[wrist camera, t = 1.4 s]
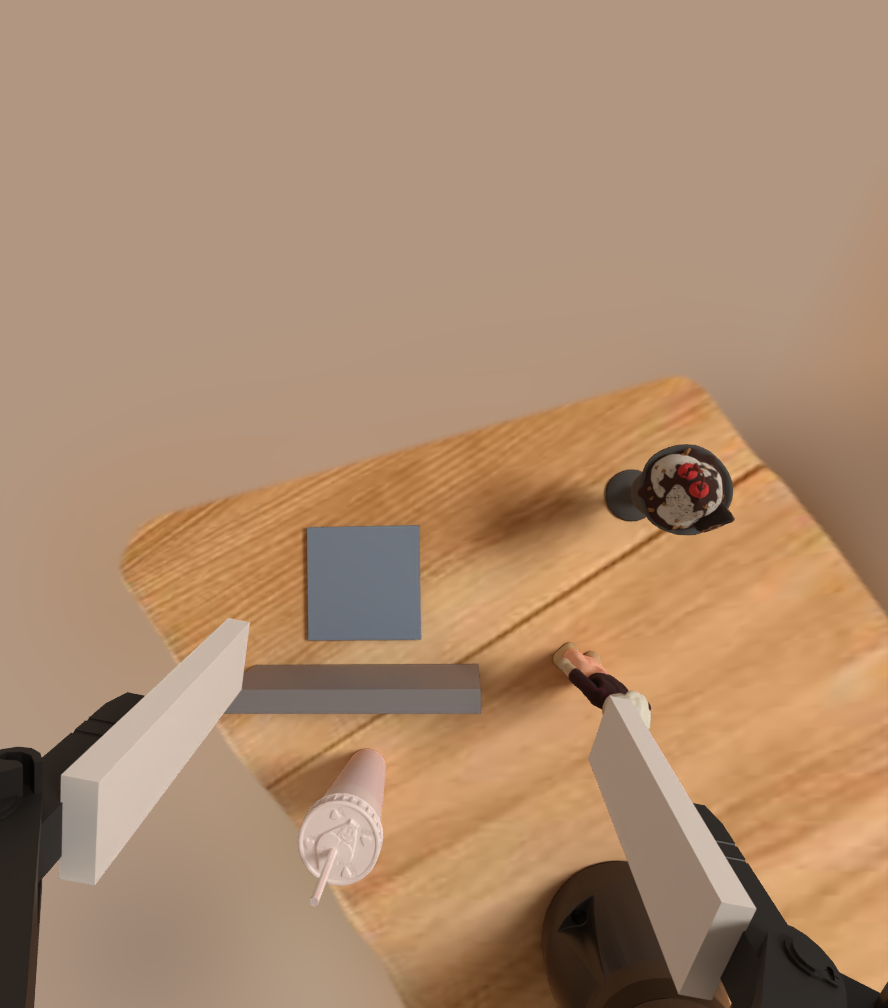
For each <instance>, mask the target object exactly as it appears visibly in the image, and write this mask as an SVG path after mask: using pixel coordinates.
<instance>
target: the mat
mask: <svg viewBox="0 0 888 1008" xmlns="http://www.w3.org/2000/svg"><path fill="white" fill-rule="evenodd" d="M307 570H308V640H421V609H420V555H419V525H415V526H362V527H308V528H307Z"/></svg>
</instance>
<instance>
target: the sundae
mask: <svg viewBox="0 0 888 1008" xmlns="http://www.w3.org/2000/svg"><path fill="white" fill-rule="evenodd" d="M732 496H733V483H732V480H731V477H730V475H729V473H728V471H727V469H726V467H725V466H724V465H723V464H722V462H721V461H720V460H719V459H718V458H717V457H716V456H715V455H714V454H712V453H711V452H710V451H708V450H706V449H704V448H702V447H699V446H697V445H688V444H685V445H675V446H672V447H668V448H666V449H663V450H661V451H659V452H657V453H656V454H654V455H653V456H652V457H651V458H650V459H649V460H648V462H647V463H646V465H645V467H644V469H643V472H641V471H639V470H625V471H622V472H620V473H618V474H617V475H615V476H614V477H613V478H612V479H611V480H610V482H609V484H608V486H607V489H606V501H607V504H608V506H609V508H610V510H611V511H612V512H613V513H614V514H615V515H616V516H617V517H619V518H621V519H623V520H626V521H638V520H641V519H644V518H646V517H647V518H648V520H649V521H650V522H651V523H652V524H654V525H655V526H657V527H658V528H660V529H662V530H664V531H667V532H670V533H673V534H676V535H696V534H699V533H703V532H708V531H711V530H714V529H717V528H719V527H721V526H723V525H725V524H728V523H731V522H733V521H734V519H735V518H734V517H733V515H732V514H731V512H730V511H729V510H728V508H729V506H730V504H731V501H732Z"/></svg>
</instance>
